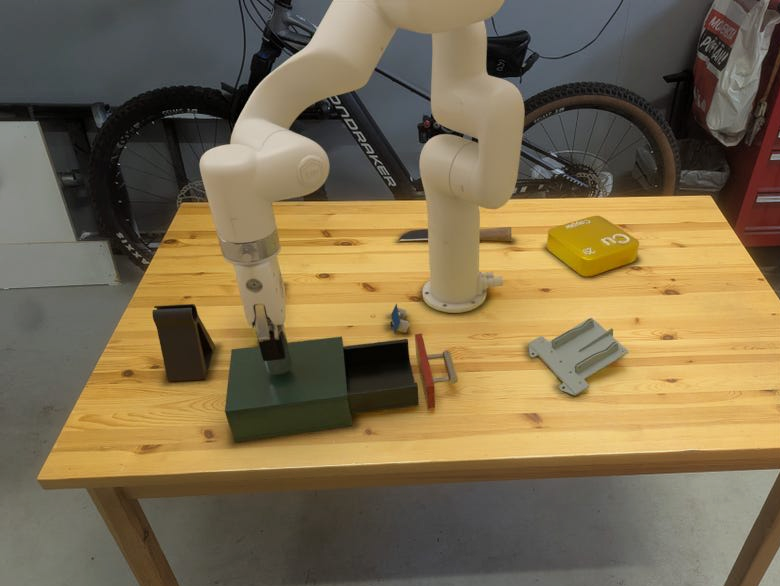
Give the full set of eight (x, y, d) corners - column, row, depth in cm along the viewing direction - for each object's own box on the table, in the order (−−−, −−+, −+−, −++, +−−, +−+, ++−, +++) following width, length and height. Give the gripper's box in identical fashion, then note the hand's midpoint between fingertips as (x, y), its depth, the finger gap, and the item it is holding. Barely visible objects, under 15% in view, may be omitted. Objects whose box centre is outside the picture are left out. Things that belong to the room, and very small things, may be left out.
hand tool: (399, 224, 149) (510, 220, 148) (401, 236, 151) (511, 232, 150) (397, 235, 145) (511, 231, 144) (399, 248, 147) (511, 244, 146)
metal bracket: (588, 301, 120) (639, 348, 109) (591, 324, 124) (641, 371, 114) (520, 340, 117) (567, 392, 107) (526, 361, 121) (572, 413, 111)
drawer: (447, 352, 116) (446, 330, 113) (461, 404, 106) (461, 381, 103) (326, 367, 112) (322, 345, 109) (329, 422, 102) (325, 399, 99)
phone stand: (205, 380, 111) (185, 322, 103) (168, 382, 110) (145, 324, 102) (215, 346, 118) (198, 290, 110) (180, 348, 117) (160, 292, 109)
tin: (292, 356, 104) (284, 317, 99) (292, 372, 101) (283, 333, 96) (265, 359, 103) (256, 320, 98) (265, 376, 100) (255, 337, 95)
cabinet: (346, 366, 114) (341, 336, 110) (352, 426, 103) (347, 395, 99) (240, 379, 111) (231, 349, 107) (234, 442, 100) (224, 411, 96)
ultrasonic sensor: (402, 339, 121) (409, 325, 120) (390, 336, 120) (398, 322, 119) (399, 320, 126) (406, 306, 124) (387, 317, 125) (394, 303, 123)
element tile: (596, 230, 152) (599, 211, 149) (640, 260, 142) (644, 240, 139) (542, 247, 146) (544, 227, 143) (584, 279, 136) (587, 259, 133)
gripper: (277, 272, 82) (301, 382, 94) (279, 210, 95) (300, 313, 107) (214, 278, 81) (246, 389, 93) (225, 214, 93) (251, 319, 105)
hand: (274, 347), depth 99 cm, fingers closed on tin, 4 cm apart
